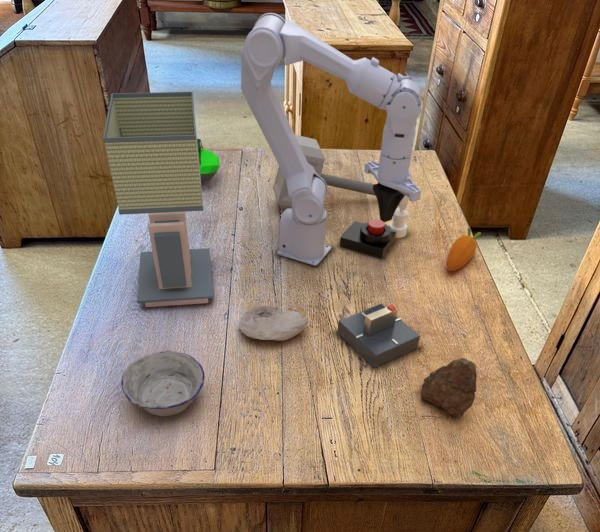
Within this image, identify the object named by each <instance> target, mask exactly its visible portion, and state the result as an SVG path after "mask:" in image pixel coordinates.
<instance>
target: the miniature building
mask: <svg viewBox="0 0 600 532" xmlns="http://www.w3.org/2000/svg"><path fill="white" fill-rule="evenodd" d="M197 144H198V154H199V160H200V173H201V185H202V184H205V183H207V182H210V180H212V178H213V177H214V176H215V175H216V174H217V172H218V170H219V168H220V165H221V163H220V157H219V156H218V155H217V154H216V153H215V152H213V151H211V150H209V149H207V148H205V149H204V145H203V142H202V140H201V138H197Z"/></svg>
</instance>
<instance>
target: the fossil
mask: <svg viewBox="0 0 600 532" xmlns="http://www.w3.org/2000/svg"><path fill="white" fill-rule="evenodd" d="M308 321H309V319H308V317H307V315H304V316H302V314H301V312H299V311H295V310H284V311H282V310H280V309H279V308H277V307H275V306H273V305H259V306H255V307H252V308H251V309H249V310H247V311H245V312H244V314H243V315H242V317H241V318H240V322H239V324H238V329H239V330H240V332H241V333H242V334H243V335H245V336H246V337H248V338H250V339H255V340H261V341H276V342H278V341H287V340H289V339H291V338H294V337H295V336H297V335H299V334H300V333H301V332H302V331H304V330H305V329H306V326H307V325H308V323H309V322H308Z"/></svg>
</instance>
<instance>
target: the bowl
mask: <svg viewBox="0 0 600 532" xmlns="http://www.w3.org/2000/svg"><path fill="white" fill-rule="evenodd" d="M204 382H205V370H204V367H203V366H202V364H201V363H200V362H199V361H198V360H197V359H195V357H193V356H192V355H190V354H187V353H183V352H181V351H175V350H174V351H172V350H165V351H157V352H154V353H151V354H148V355H145V356H142V357H141V358H138V359H137V360H135V361H134V362H132V363H131V364H130V365H128V366H127V367H126V369H125V370H124V371H123V373H122V376H121V381H120V384H121V391H122V392H123V394H124V397H125V398H126V399H127V400H128V402H130V404H132V405H134V406H136V407H138V408H140V409H142V410H144V411H145V412H146V413H148V414H149V415H154V416H158V417H170V416H174V415H178V414H179V413H182V412H183V411H185V410H186V409H187V408H188V407H189V406H190V405H191V404H192V402H193V401H194V399H195V398H196V397H197V396H198V394H199V393H200V391H201V390H202V388H203V385H204Z"/></svg>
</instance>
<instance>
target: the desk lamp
mask: <svg viewBox="0 0 600 532" xmlns="http://www.w3.org/2000/svg"><path fill="white" fill-rule="evenodd" d="M197 134H198V133H197V125H196V114H195V103H194V91H166V92H165V91H161V92H159V91H158V92H116V93H113V92H112V93H111V94H110V101H109V105H108V110H107V116H106V121H105V125H104V131H103V135H102V141H103V143H104V147H105V152H106V156H107V161H108V165H109V166H108V167H109V170H110V175H111V179H112V184H113V189H114V193H115V198H116V203H117V207H118V210H117V211H118V214H119V215H121V216H122V215H142V214H148V220H149V223H148V224H147V228H148V234H149V239H150V240H149V241H150V245H151V251H140V252H139V253H140V257H139V267H138V268H139V271H138V283H137V298H136V300H137V304H144V306H145V308H154V307H157V308H158V307H168V306H171V307H172V306H185V305H200V304H209V299H214V298H215V297H214V287H213V285H214V284H213V275H212V262H211V251H210V248H209V247H205V248H190V243H189V242H190V241H189V235H188V234H189V233H188V226H187V218H186V213H187V212H204V203H203V187H202V186H203V185H202V184H201V173H200V160H199V154H198V144H197V139H198V136H197Z"/></svg>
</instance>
